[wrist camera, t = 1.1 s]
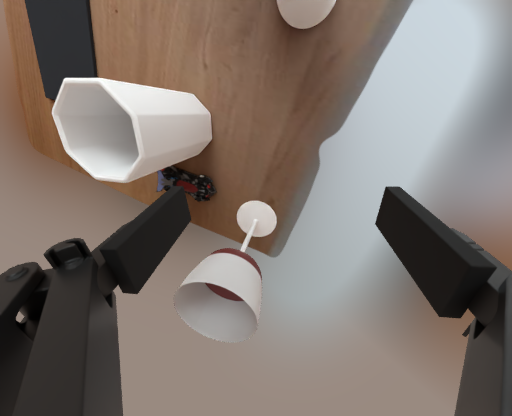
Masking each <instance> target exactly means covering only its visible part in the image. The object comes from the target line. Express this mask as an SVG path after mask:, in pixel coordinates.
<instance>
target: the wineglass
mask: <svg viewBox="0 0 512 416" xmlns="http://www.w3.org/2000/svg"><path fill="white" fill-rule="evenodd" d="M237 222H238V224H239V226H240V228H241V229H242V230H243V231H244V232H245V233H247V236H246V238H245V240H244V242H243V245H242V247H241V249H240V250H236V249H231V248H225V249H220V250H217V251H215V252H213V253H211V254H210V255H209V256H208V257H206V258H205V259H204V260H203V261H202V262H201V263H200V264H199V265H198V266H197V267H196V268H195V269H194V270H193V271H192V272H191V273H190V274H189V275H188V276H187V278H186V279H185V280H184V282H183V283H182V284H181V286H180V287H179V288H178V290H177V291H176V293H175V295H174V306H175V309H176V311H177V313H178V314H179V316H180V317H181V318H182V319H183V321H184V322H185V323H186V324H187V325H188V326H190V327H191V328H192V329H194V330H195V331H197V332H199V333H200V334H202V335H204V336H207V337H209V338H211V339H215V340H218V341H222V342H241V341H245V340H247V339H249V338H251V337H252V336H253V335H254V334H255V332H256V330H257V326H258V321H259V315H260V307H261V299H262V276H261V272H260V269H259V267H258V265H257V263H256V262H255V261H254V259H253V258H251V257H250V256H249V255H248V254H246V253H245V251H246V248H247V246H248V243H249V241H250V239H251V236H254V237H263V236H267V235H268V234H270V233H272V231H273V230H274V229H275V227H276V223H277V220H276V215H275V213H274V211H273V210H272V208H271V207H270V206H269V205H267V204H265V203H264V202H260V201H249V202H246V203H244V204H243V205H242V206H241V207H240V208H239V210H238V212H237Z"/></svg>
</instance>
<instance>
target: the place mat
mask: <svg viewBox="0 0 512 416" xmlns="http://www.w3.org/2000/svg"><path fill="white" fill-rule="evenodd" d="M25 4H26V8H27V13H28V17H29V22H30V27H31V31H32V36H33V40H34V45H35V50H36V54H37V59H38V63H39V68H40V73H41V77H42V82H43V86H44V91H45V96H46V98H50V99H53V100H56V98H57V96H58V93H59V91H60V88H61V85H62V83H63V80H64V79H65V78H97V70H96V61H95V52H94V42H93V33H92V24H91V15H90V6H89V0H25Z"/></svg>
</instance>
